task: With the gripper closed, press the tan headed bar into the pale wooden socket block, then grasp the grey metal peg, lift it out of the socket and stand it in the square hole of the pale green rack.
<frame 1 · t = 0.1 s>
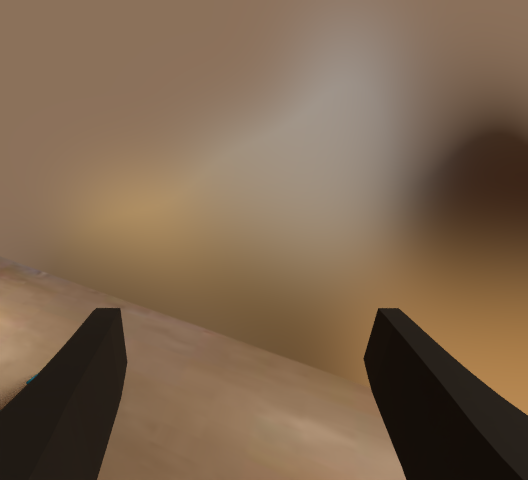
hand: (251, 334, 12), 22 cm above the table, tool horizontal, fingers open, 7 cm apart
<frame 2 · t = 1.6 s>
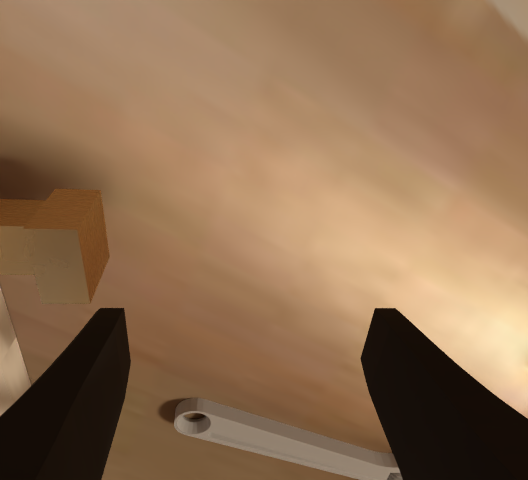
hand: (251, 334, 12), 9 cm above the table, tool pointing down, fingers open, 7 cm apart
adjustable wrench: (334, 436, 32), on the table
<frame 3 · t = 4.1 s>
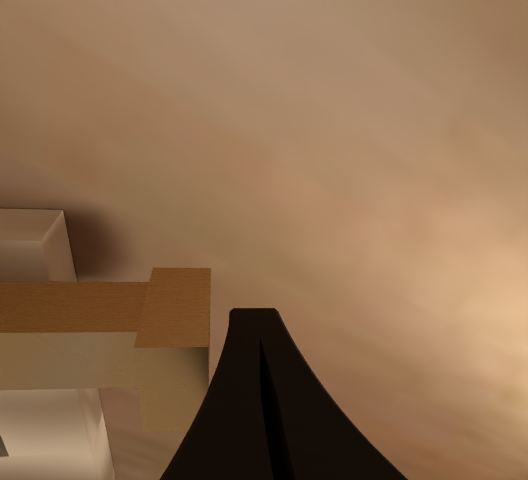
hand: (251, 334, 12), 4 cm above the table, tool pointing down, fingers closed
tan headed bar: (20, 347, 10), point 5 cm above the table, slide at 1.4 cm, touching gripper
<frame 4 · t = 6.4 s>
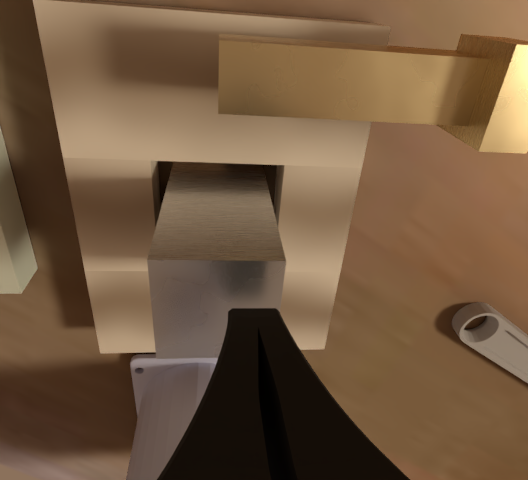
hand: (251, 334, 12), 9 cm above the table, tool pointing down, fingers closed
socket block: (217, 201, 20), on the table
tan headed bar: (373, 84, 13), point 5 cm above the table, slide at -0.1 cm
peg: (217, 200, 20), resting in socket block
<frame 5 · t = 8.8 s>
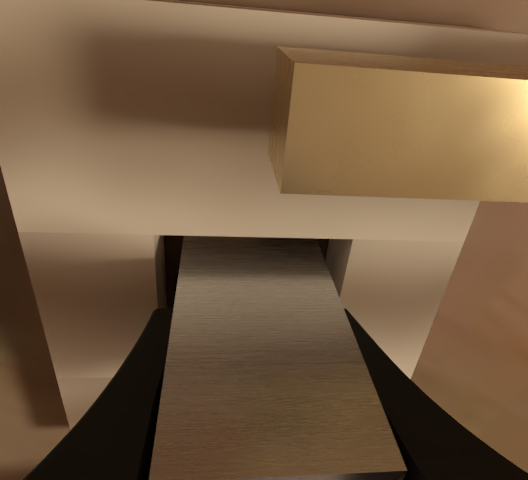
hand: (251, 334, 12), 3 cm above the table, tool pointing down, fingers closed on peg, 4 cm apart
socket block: (245, 274, 14), on the table
peg: (245, 274, 14), resting in socket block, touching gripper
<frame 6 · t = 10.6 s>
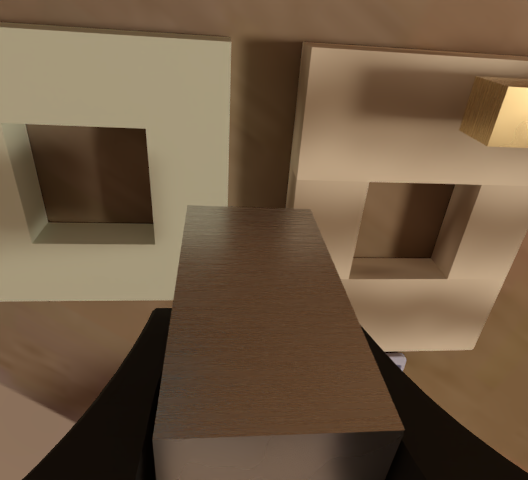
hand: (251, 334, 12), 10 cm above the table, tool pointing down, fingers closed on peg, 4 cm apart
socket block: (396, 215, 22), on the table
peg: (246, 258, 14), point 7 cm above the table, touching gripper
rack: (97, 172, 19), on the table
when the fingers open (4 cm above the table, at t = 12.5 s): peg stays where it is, resting in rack.
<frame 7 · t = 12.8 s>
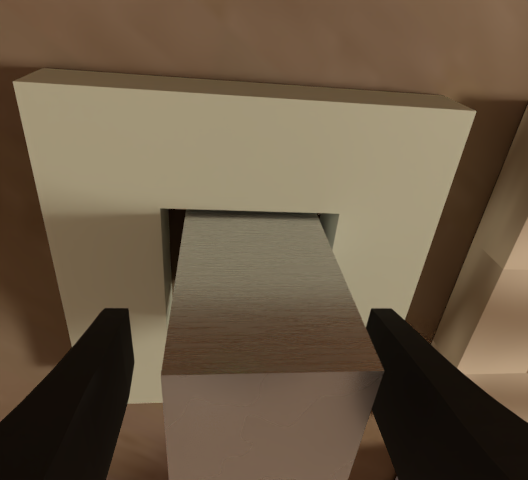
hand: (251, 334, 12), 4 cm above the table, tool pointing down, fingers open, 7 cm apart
peg: (245, 237, 15), resting in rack
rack: (243, 250, 15), on the table
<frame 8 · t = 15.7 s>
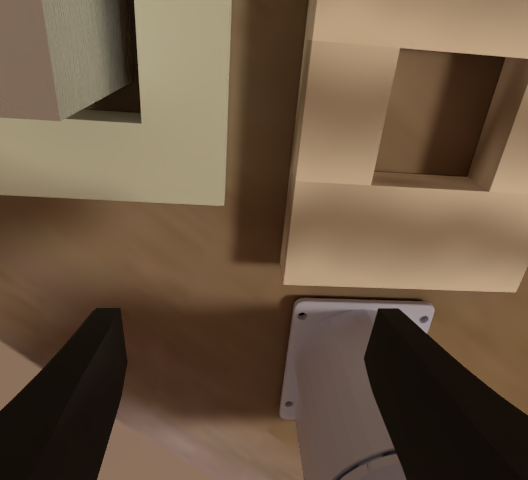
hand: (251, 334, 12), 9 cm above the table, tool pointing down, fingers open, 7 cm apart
socket block: (428, 116, 18), on the table
peg: (77, 22, 16), resting in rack
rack: (78, 39, 16), on the table
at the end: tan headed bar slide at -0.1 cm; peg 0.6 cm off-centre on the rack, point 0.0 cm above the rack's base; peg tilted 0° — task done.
